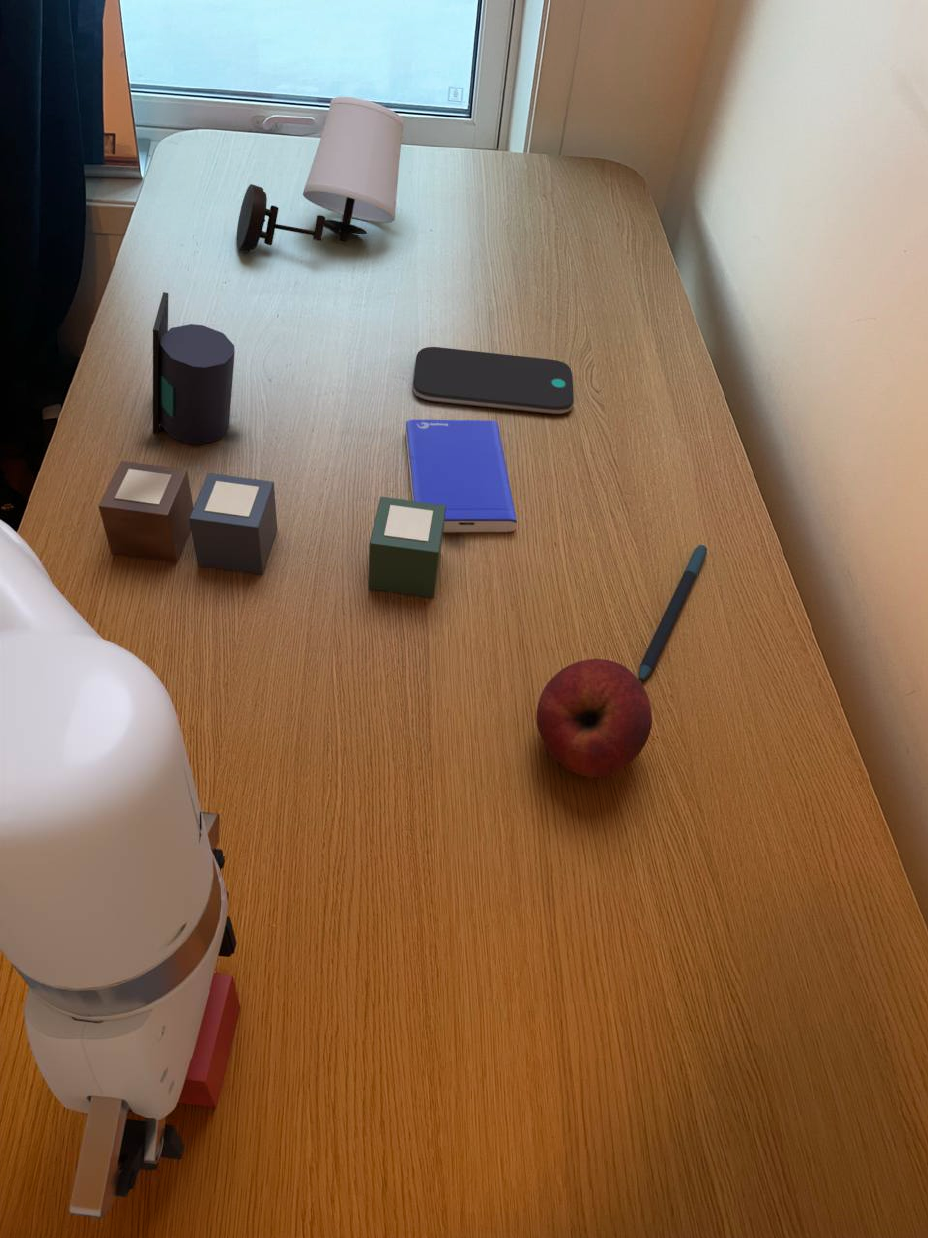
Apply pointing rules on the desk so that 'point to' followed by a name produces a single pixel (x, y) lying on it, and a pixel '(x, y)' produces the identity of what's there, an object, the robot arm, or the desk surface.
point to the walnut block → (147, 511)
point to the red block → (212, 1044)
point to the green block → (406, 547)
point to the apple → (594, 717)
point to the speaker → (191, 380)
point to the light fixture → (339, 175)
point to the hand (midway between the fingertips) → (180, 1041)
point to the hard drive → (461, 473)
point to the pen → (672, 613)
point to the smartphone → (493, 380)
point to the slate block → (234, 523)
